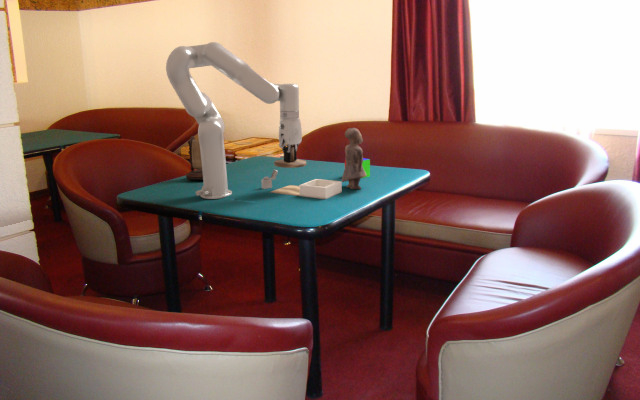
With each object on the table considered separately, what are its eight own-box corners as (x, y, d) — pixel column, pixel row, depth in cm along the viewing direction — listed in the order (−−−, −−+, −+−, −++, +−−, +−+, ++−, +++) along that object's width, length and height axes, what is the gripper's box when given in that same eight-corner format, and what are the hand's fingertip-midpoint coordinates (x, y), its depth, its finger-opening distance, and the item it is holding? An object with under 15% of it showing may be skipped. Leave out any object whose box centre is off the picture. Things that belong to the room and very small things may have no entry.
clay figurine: (372, 189, 229) (371, 128, 223) (350, 193, 225) (349, 130, 219) (357, 184, 241) (356, 125, 234) (336, 186, 237) (334, 127, 231)
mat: (297, 197, 222) (297, 195, 222) (269, 193, 229) (269, 192, 229) (317, 189, 233) (317, 188, 233) (289, 186, 241) (289, 185, 241)
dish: (325, 200, 215) (325, 187, 214) (299, 197, 222) (299, 184, 220) (341, 193, 225) (341, 181, 224) (316, 190, 231) (316, 178, 230)
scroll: (180, 182, 257) (176, 138, 252) (195, 175, 271) (191, 133, 266) (210, 182, 254) (206, 138, 249) (223, 175, 268) (220, 133, 263)
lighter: (263, 190, 236) (262, 171, 234) (261, 189, 237) (260, 170, 235) (278, 188, 238) (278, 169, 237) (277, 187, 240) (276, 168, 238)
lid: (294, 168, 220) (294, 150, 218) (267, 165, 227) (267, 147, 225) (312, 163, 231) (312, 146, 229) (286, 160, 237) (286, 143, 235)
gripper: (285, 117, 215) (285, 165, 220) (308, 114, 228) (309, 159, 233) (269, 116, 219) (270, 163, 223) (293, 113, 232) (294, 157, 237)
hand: (290, 160), depth 228 cm, fingers closed on lid, 3 cm apart
